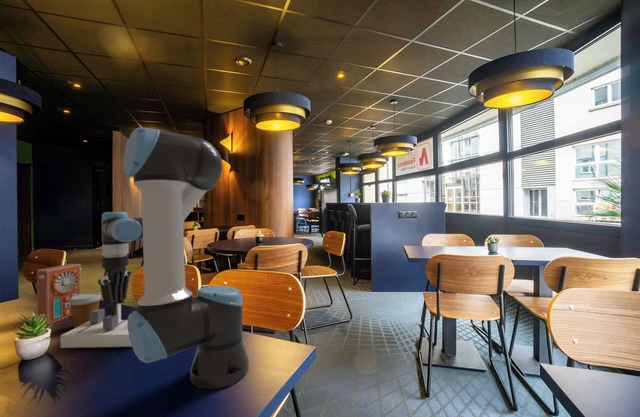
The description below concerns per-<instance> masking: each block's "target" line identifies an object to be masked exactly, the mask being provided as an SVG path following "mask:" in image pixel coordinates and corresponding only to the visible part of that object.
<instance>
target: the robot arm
mask: <svg viewBox="0 0 640 417" xmlns="http://www.w3.org/2000/svg"><path fill="white" fill-rule="evenodd" d="M123 154H124V155H123V160H122V161H123V163H122V164H123V171H124V173H125V175H126V176H129V177H133V178H132V179H133V186H134V187H136V188H137V189H138V190H139V191H140V192H141V211H142V212H141V214H142V215H141V217H129V214H128V212H126V211H114V212H113V211H111V212H110V211H106V212H103V213H102V214H101V221H100V222H101V255H102V258H101V268H102V269H104V273H103V277H102V278H101V279H98V281H97V283H98V285H99V286H100V292H101V296H102V300H103V305H104V306H109V315H118V323H120V322H121V320H122V303H125V302H126V301H125V300H126V299H127V295H128V289H129V288H128V287H129V282H130V281H129V280H130V277H131V273H132V272H131V271H127V268H126V267H127V266H129V260H130V259H129V255H128V254H129V242H133V241H139V240H140V241H141V240H142V248H143V250H142V251H143V255H142V256H143V279H144V280H143V284H144V287H143V288H144V293H143V294H142V296H141V297H140V298H139V299H138V300H137V302H136V310H134V311H132V312H131V313H129V315H127V320H128V322H127V326H128V333H129V338H130V341H131V344H132V347H131V348H132V349H133V351H134V353H135V355H136V357H137V358H138V360H139V361H141V362H142V363H145V364H148V363H149V364H150V363H154V362H155V361H156V362H157V361H159V360H162V359H163V360H164V359H167V358H168V357H170V356H172V355H176V354H178V353H181V352H182V351H185V350H188V349H191V348H193V347H195V346H196V347H197V348H196V352H195V355H194V357H193V361H192V364H191V367H190V372H189V374H190V377H189V379H190V382H191V384H192V385H193V386H194V387H195V388H199V389H203V390H217V389H222V388H226V387H229V386H232V385H233V384H236V383H237V382H239V381H240V380H242V379H243V378H244V377H245V376H246V375H247V373H248V372H249V366H250V365H249V364H250V363H249V355H248V352H247V351H246V347H245V344H244V342H243V306H244V304H243V296H242V292H241V291H240V290H239V288H235V287H231V286H222V285H212V286H211V285H210V286H204V287H201V288H199V289H198V290H197V292H196V296H195V297H193V292H192V291H191V290H190V289H188V287H186V271H185V270H186V268H185V243H184V242H185V241H184V240H185V238H184V232H185V228H186V224H185V220H186V218H188V216H189V215H190V213H192V211H193V209H194V208H195V207H196V206H197V204H198V203H199V202H200V200H201V199H203V197H204V195H205V194H206V193H207V192H208V191H211V190H213V189H214V188H215V187H216V186H217V184H218V183H219V181H220V179H221V177H222V173H223V162H222V157H221V154H220V153H219V150H217V148H216V147H215V146H214V145H213V144H212V143H211V142H209V141H207V140H205V139H203V138H201V137H197V136H191V135H186V134H180V133H176V132H172V131H166V130H162V129H159V128H149V127H142V126H141V127H137V128H135V129H133V131H132V132H131V134H130V135H129V137H128V139H127V142H126V145H125V150H124V153H123Z"/></svg>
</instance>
